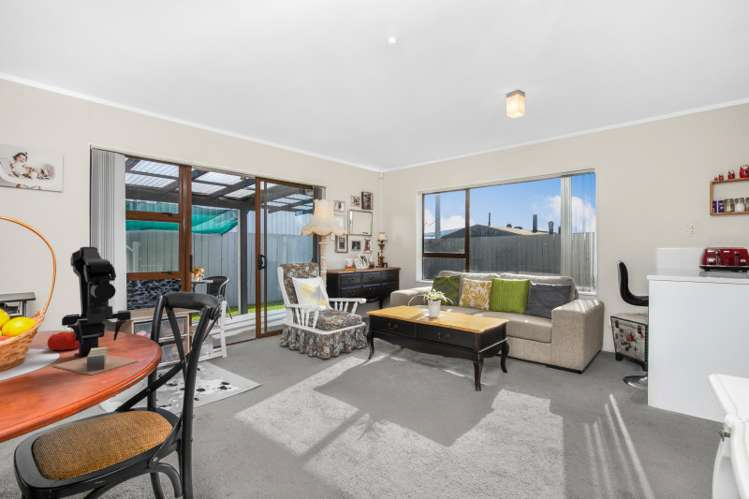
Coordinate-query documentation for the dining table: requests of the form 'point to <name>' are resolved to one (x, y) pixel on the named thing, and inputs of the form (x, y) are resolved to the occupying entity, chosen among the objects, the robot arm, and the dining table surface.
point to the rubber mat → (81, 367)
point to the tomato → (62, 341)
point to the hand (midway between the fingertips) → (98, 342)
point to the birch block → (97, 359)
